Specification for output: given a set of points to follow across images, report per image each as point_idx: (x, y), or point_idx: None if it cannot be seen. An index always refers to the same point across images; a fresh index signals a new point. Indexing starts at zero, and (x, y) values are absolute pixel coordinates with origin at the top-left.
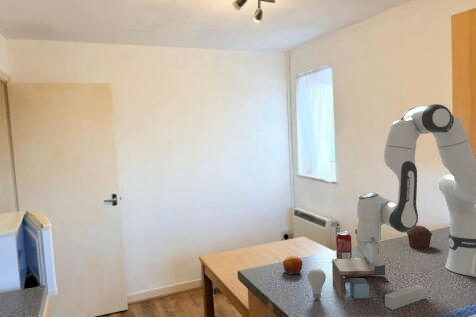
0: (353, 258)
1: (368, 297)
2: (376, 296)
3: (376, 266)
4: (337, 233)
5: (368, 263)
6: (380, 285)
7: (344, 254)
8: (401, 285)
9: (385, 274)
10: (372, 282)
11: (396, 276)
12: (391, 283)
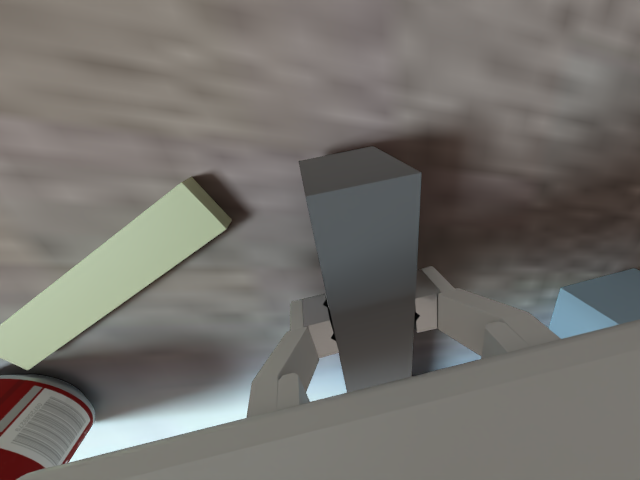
0: (26, 369)
1: (635, 271)
2: (635, 233)
3: (410, 263)
4: None
5: (344, 334)
6: (501, 198)
7: (57, 449)
8: (534, 9)
9: (374, 147)
10: (447, 244)
11: (308, 11)
12: (478, 107)
